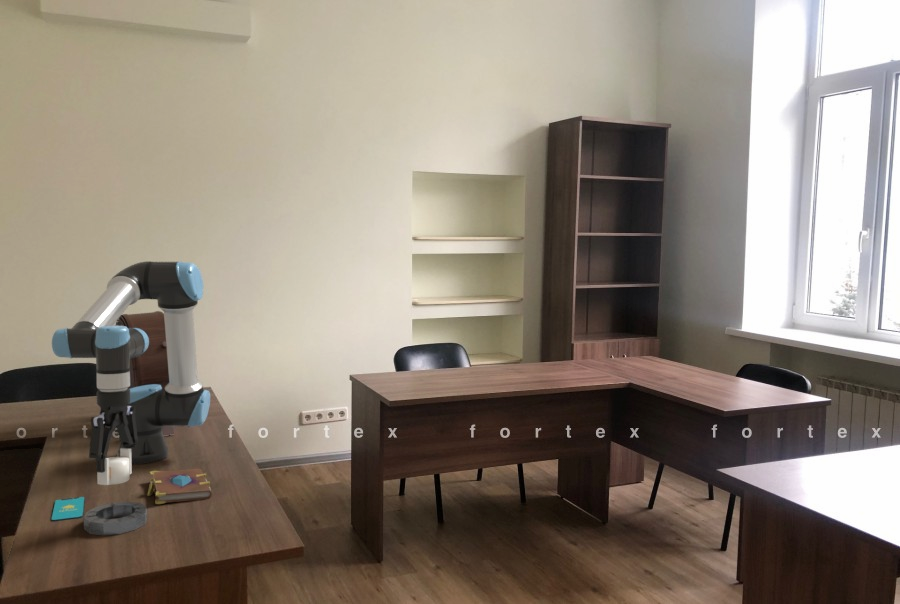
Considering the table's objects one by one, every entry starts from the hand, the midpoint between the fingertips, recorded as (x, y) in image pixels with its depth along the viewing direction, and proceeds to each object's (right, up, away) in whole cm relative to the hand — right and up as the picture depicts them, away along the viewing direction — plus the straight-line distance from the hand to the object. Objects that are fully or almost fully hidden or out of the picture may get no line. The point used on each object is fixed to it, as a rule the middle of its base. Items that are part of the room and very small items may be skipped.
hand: (115, 478), depth 180 cm
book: (+5, -10, +27) cm, 30 cm away
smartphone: (-17, -11, +10) cm, 22 cm away
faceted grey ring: (0, -12, +1) cm, 12 cm away
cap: (0, 0, 0) cm, 0 cm away
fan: (-29, -3, +90) cm, 95 cm away
